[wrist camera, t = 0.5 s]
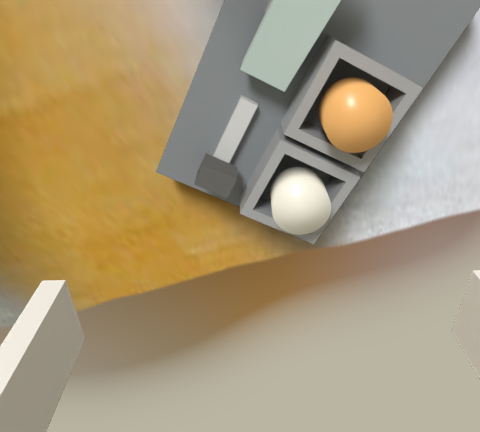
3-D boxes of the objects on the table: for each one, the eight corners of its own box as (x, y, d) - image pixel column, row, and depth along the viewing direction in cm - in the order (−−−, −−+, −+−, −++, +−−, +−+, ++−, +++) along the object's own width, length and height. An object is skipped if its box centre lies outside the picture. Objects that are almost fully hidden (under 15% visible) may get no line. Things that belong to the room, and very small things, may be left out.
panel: (164, 154, 38) (148, 187, 32) (280, -136, 27) (290, -169, 21) (311, 217, 41) (322, 259, 35) (468, -18, 30) (523, -16, 24)
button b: (306, 122, 29) (312, 136, 27) (339, 66, 27) (348, 75, 25) (356, 147, 30) (367, 162, 28) (392, 94, 28) (406, 105, 26)
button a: (260, 202, 33) (261, 221, 30) (286, 157, 31) (290, 174, 28) (306, 222, 34) (311, 242, 31) (335, 180, 32) (342, 198, 29)
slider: (197, 171, 33) (194, 184, 31) (205, 152, 32) (203, 165, 30) (228, 184, 33) (227, 198, 31) (237, 166, 33) (236, 179, 31)
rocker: (243, 58, 29) (239, 70, 28) (319, -99, 21) (318, -91, 20) (286, 80, 29) (284, 93, 28) (374, -65, 22) (375, -56, 21)
